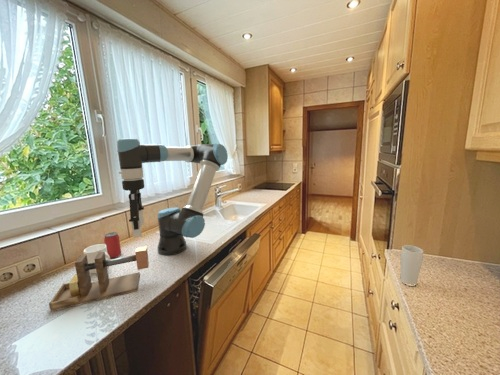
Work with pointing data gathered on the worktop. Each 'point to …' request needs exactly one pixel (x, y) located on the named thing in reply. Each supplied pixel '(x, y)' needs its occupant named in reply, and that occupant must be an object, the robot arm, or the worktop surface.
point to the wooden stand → (94, 284)
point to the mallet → (126, 260)
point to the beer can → (112, 244)
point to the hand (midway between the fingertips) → (139, 230)
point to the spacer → (74, 287)
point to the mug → (95, 254)
